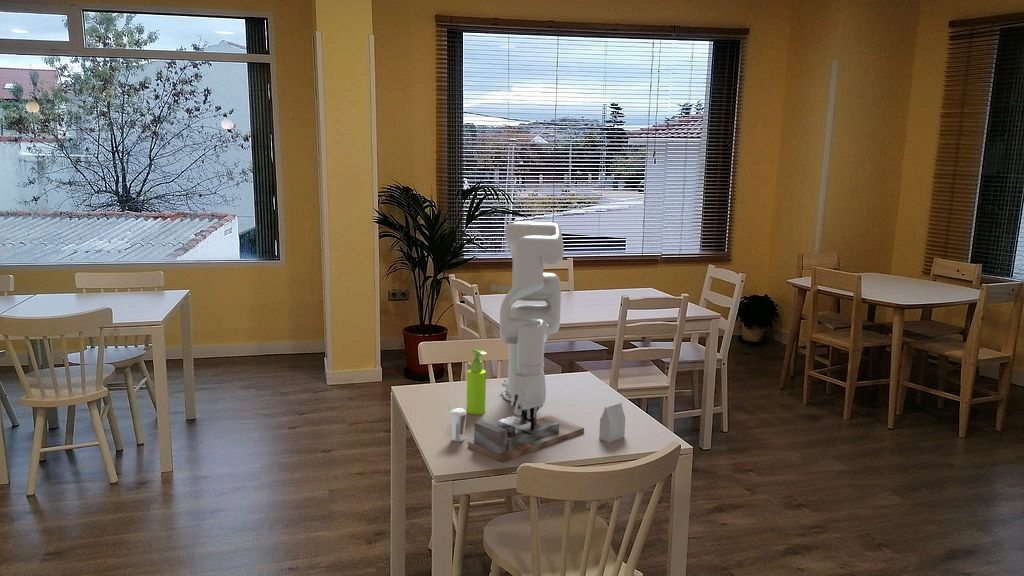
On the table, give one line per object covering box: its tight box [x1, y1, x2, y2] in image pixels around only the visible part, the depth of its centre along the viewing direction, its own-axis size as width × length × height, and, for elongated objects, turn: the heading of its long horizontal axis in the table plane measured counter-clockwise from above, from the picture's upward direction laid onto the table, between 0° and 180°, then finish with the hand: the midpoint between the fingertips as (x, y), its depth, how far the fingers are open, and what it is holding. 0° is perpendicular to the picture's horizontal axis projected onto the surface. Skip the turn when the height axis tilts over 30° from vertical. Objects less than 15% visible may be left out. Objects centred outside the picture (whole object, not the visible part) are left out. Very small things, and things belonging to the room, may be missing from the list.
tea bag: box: [598, 402, 626, 444], centre depth 213 cm, size 4×7×10 cm, turn 131°
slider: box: [497, 415, 532, 439], centre depth 204 cm, size 9×10×5 cm
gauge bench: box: [467, 414, 585, 463], centre depth 210 cm, size 33×14×8 cm, turn 134°
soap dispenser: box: [466, 348, 488, 415], centre depth 231 cm, size 6×7×20 cm
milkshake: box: [447, 406, 468, 443], centre depth 209 cm, size 4×5×10 cm
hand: (528, 430), depth 210 cm, fingers closed
